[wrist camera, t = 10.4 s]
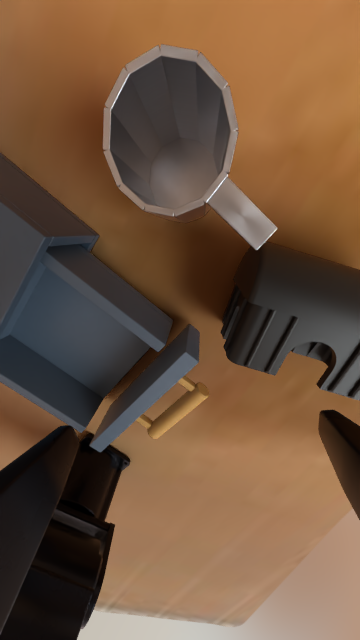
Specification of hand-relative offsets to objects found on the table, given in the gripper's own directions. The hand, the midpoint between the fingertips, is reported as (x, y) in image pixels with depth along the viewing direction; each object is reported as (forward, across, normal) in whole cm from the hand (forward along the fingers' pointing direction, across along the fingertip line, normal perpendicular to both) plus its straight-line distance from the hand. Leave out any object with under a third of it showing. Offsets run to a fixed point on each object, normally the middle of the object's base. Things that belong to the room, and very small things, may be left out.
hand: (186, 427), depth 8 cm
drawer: (+11, +8, +2) cm, 14 cm away
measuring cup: (+12, -2, -9) cm, 15 cm away
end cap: (+12, -8, 0) cm, 14 cm away
